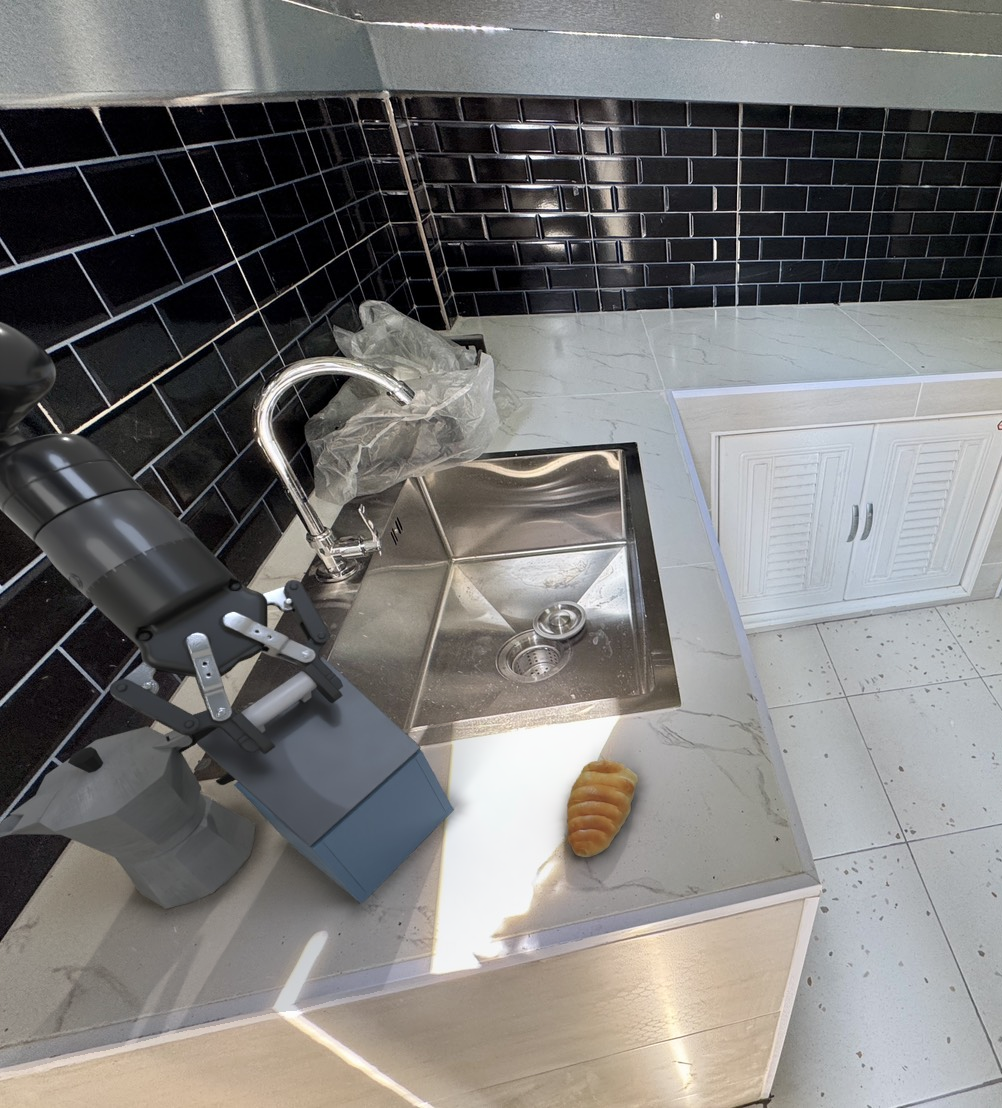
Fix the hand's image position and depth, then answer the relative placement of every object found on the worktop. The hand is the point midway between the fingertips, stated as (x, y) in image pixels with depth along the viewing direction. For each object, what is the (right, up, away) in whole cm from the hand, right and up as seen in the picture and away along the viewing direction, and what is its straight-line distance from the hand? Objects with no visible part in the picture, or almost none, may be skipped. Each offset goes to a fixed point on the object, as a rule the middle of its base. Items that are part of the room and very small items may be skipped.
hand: (304, 723), depth 50 cm
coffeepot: (-16, -16, +10) cm, 25 cm away
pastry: (+22, -13, +14) cm, 29 cm away
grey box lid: (-1, -3, +3) cm, 5 cm away
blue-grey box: (-2, -14, +12) cm, 19 cm away
